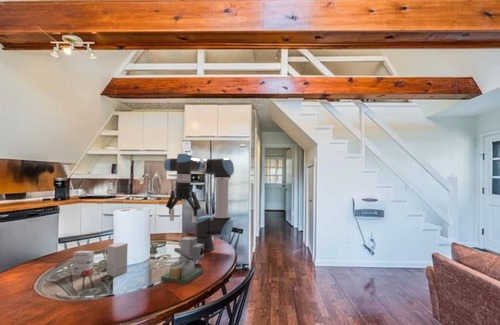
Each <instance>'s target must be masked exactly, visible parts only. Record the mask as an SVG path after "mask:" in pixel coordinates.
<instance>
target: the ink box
mask: <svg viewBox="0 0 500 325" xmlns="http://www.w3.org/2000/svg"><path fill="white" fill-rule="evenodd" d="M72 255H73V256H72V276H84V277H85V276H88V277H89V276H90V275H91V274H93V273H94V261H95V260H94V259H95V258H94V256H95V251H94V250H77V251H75V252H73V254H72Z"/></svg>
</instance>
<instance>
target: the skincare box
mask: <svg viewBox="0 0 500 325" xmlns="http://www.w3.org/2000/svg"><path fill="white" fill-rule="evenodd" d="M128 245H129V244H128V243H126V242H121V241H119V242H115V243H112V244H109V245H107V256H106V275H107V276H111V277H114V278H115V277H118V276H120V275H122V274H125V273H127V272H128Z"/></svg>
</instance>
